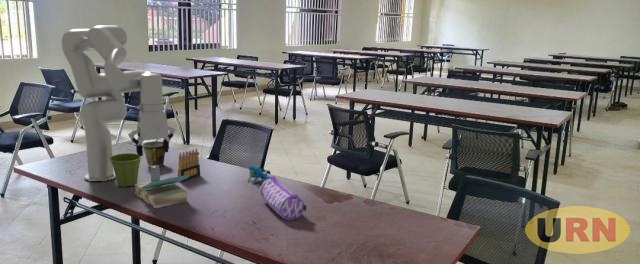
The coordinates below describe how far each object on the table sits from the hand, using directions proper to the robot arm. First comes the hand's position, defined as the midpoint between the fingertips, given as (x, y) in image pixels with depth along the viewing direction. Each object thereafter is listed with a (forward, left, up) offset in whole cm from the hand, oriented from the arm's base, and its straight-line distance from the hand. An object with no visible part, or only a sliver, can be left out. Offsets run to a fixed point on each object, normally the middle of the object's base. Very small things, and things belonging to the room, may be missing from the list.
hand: (153, 153), depth 193 cm
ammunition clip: (-10, +19, -16) cm, 27 cm away
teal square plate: (+9, 0, -9) cm, 13 cm away
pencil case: (+41, +28, -16) cm, 52 cm away
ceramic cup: (-34, +15, -16) cm, 41 cm away
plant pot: (-17, -4, -16) cm, 24 cm away
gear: (+11, +39, -16) cm, 44 cm away
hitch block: (+5, 0, -16) cm, 17 cm away
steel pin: (+1, 0, -15) cm, 15 cm away
